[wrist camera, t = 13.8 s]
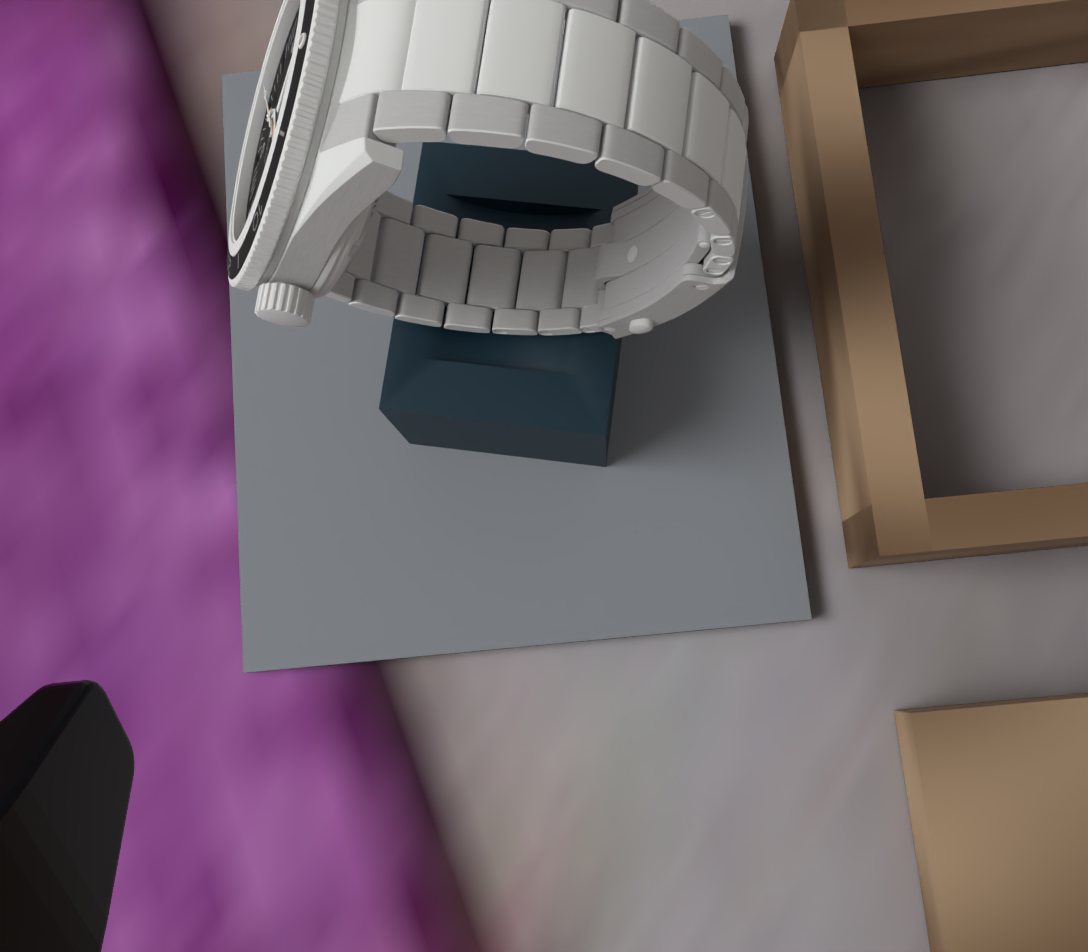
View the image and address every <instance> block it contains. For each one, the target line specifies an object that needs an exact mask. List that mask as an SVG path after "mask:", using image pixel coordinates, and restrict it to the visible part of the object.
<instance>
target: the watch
mask: <svg viewBox="0 0 1088 952" xmlns="http://www.w3.org/2000/svg"><path fill="white" fill-rule="evenodd" d="M489 7H490V11H489ZM488 14H489V17H488ZM487 20H488V23H487ZM564 20H566V22H565V29H564V36H563V43H562V50H561V57H560V64H559V71H558V78H557V85H556V92H555V99H554V106H553V107H552V104H553V97H554V90H555V83H556V76H557V68H558V61H559V54H560V47H561V40H562V33H563V26H564ZM486 27H487V30H486ZM485 33H486V36H485ZM484 39H485V43H484ZM483 46H484V49H483ZM482 52H483V55H482ZM481 58H482V62H481ZM480 65H481V68H480ZM479 71H480V74H479ZM478 78H479V81H478ZM477 84H478V87H477ZM476 90H477V94H476ZM451 106H452V107H451ZM528 114H529V119H528V126H527V133H526V139H525V148H526V149H527V150H518V149H508V148H518V147H519V146H520V145H521V144H522V143H523V140H524V135H525V128H526V122H527V115H528ZM448 125H449V126H448ZM748 125H749V115H748V108H747V106H746V104H745V98H744V96H743V93H742V91H741V88H740V86H739V85H738V83H737V81H736V79H735V78H734V76H733V75H732V73H731V71H730V70H729V69H728V68H727V67H726V66H722V61H721V59H720V58H719V57H718V55H717V54H716V53H715V52H714V51H713V50H712V49H711V48H710V47H709V46H708V45H707V44H706V43H705V42H704V41H702V40H701V39H700V38H699V37H698V36H697V35H695V34H694V33H693V32H692V31H690V30H689V29H687V28H685V27H680V23H679V21H678V20H677V19H676V18H674V17H673V16H671V15H670V14H668V13H667V12H665V11H664V10H662V9H661V8H659V7H657V6H656V5H654V4H652V3H651V2H649V1H647V0H284V1H283V3H282V6H281V9H280V12H279V15H278V18H277V20H276V23H275V26H274V29H273V33H272V36H271V39H270V42H269V45H268V49H267V52H266V55H265V59H264V62H263V66H262V69H261V73H260V77H259V80H258V84H257V88H256V92H255V96H254V100H253V104H252V108H251V112H250V116H249V120H248V124H247V129H246V133H245V138H244V142H243V147H242V152H241V157H240V161H239V167H238V172H237V177H236V183H235V189H234V195H233V202H232V209H231V217H230V225H229V239H228V249H227V272H228V278H229V283H230V285H231V286H232V287H235V288H238V289H242V290H246V291H250V290H252V289H253V288H254V287H255V286H257V287H258V288H259V290H258V295H257V300H256V306H255V312H254V313H255V314H256V315H257V316H258V317H260V318H261V319H263V320H266V321H268V322H271V323H274V324H278V325H283V326H289V327H306V326H307V325H310V323H311V317H312V312H313V306H314V301H315V299H318V298H321V297H324V296H327V297H329V298H332V299H335V300H338V301H341V302H349V305H350V306H352V307H356V308H359V309H362V310H366V311H369V312H373V313H377V314H381V315H385V316H389V317H392V316H394V320H393V326H392V332H391V338H390V344H389V350H388V356H387V362H386V368H385V374H384V380H383V386H382V392H381V398H380V404H379V410H380V411H381V412H382V413H383V414H384V415H385V417H386V418H387V419H388V420H389V421H390V422H391V423H392V424H393V426H394V427H395V428H396V429H397V430H398V431H399V432H400V433H401V435H402V436H403V437H404V438H405V439H406V440H407V441H408V442H409V443H410V444H416V445H424V446H433V447H441V448H449V449H458V450H466V451H475V452H483V453H491V454H500V455H508V456H517V457H525V458H533V459H542V460H550V461H559V462H567V463H575V464H584V465H592V466H600V467H606V462H607V454H608V446H609V438H610V430H611V422H612V414H613V406H614V398H615V390H616V382H617V374H618V366H619V358H620V350H621V342H622V337H624V336H628V335H631V334H634V333H635V334H641V333H646V332H649V331H651V330H652V328H653V327H654V326H657V325H660V324H662V323H664V322H667V321H669V320H672V319H674V318H676V317H678V316H680V315H682V314H684V313H686V312H688V311H689V310H691V309H693V308H694V307H696V306H698V305H699V304H701V303H702V302H704V301H705V300H707V299H708V298H709V297H711V296H712V295H713V294H715V293H716V292H718V291H719V290H720V289H721V288H723V287H724V286H725V285H726V284H728V283H729V282H730V281H731V280H732V279H733V278H734V274H735V270H736V265H737V261H738V256H739V250H740V245H741V239H742V233H743V226H744V219H745V211H746V201H747V186H748V156H747V150H746V143H747V134H748ZM447 131H448V133H449V136H450V138H451V139H452V140H453V141H454V142H456V143H459V144H455V143H444V142H441V141H443V140H444V139H445V138H446V137H447ZM405 142H423V144H422V150H421V156H420V162H419V168H418V174H417V180H416V186H415V192H414V198H413V204H412V202H411V201H409V200H407V199H404V198H402V197H400V196H397V195H395V194H393V193H391V192H389V191H387V190H388V189H389V188H390V187H392V186H393V185H394V184H395V182H396V180H397V178H398V176H399V174H400V173H401V171H402V165H403V159H404V153H405V151H404V150H402V149H399V148H396V145H397V143H405ZM465 144H466V145H465ZM476 145H482V146H476ZM486 146H492V147H486ZM497 147H501V148H497ZM639 185H641V186H649V185H652V186H651V187H649V188H648V189H646V190H644V191H643V192H641V193H639V194H638V186H639Z"/></svg>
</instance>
